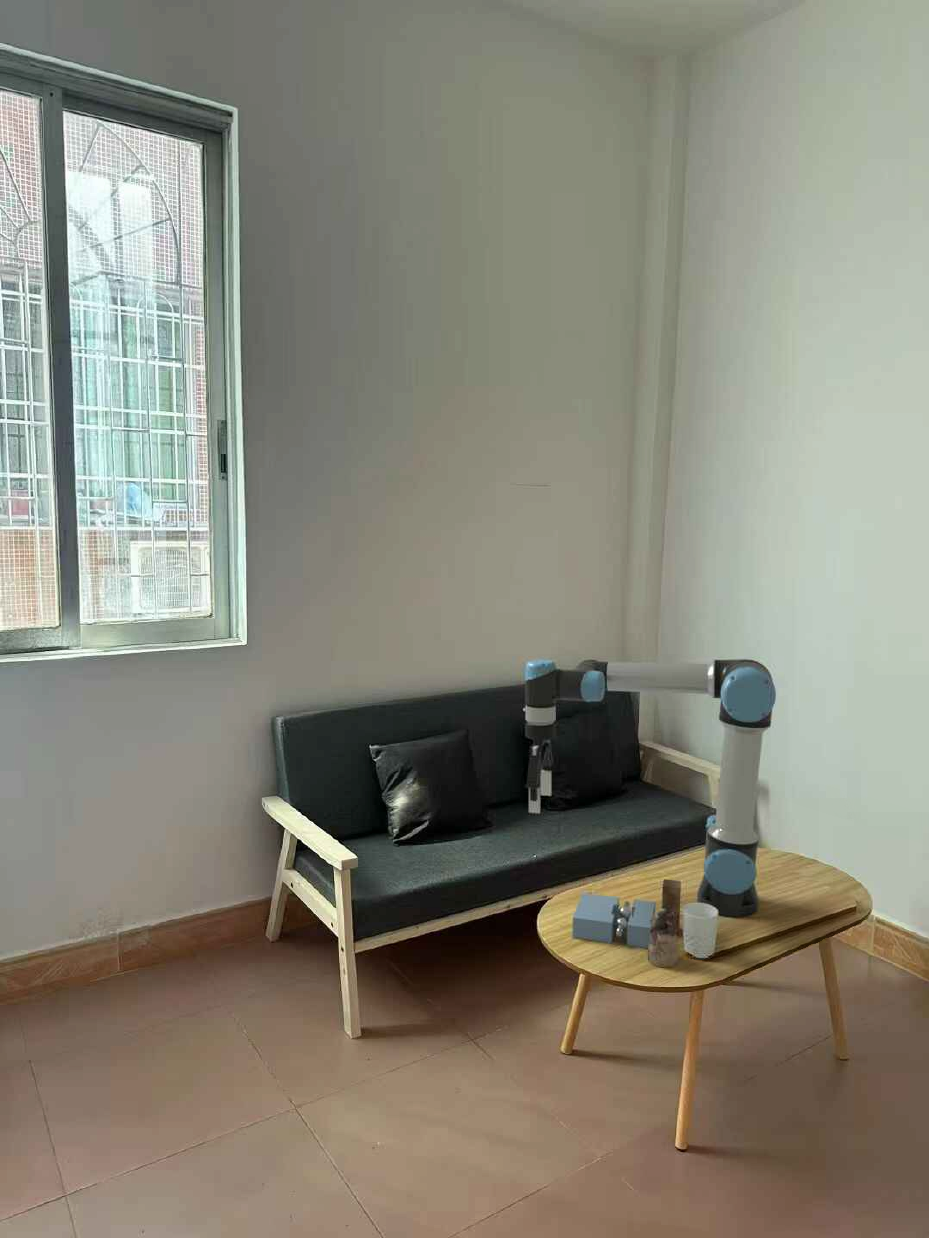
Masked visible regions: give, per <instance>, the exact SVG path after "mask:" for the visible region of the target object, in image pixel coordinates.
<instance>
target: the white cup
mask: <svg viewBox="0 0 929 1238" xmlns="http://www.w3.org/2000/svg"><path fill="white" fill-rule="evenodd" d="M718 918H719V915H718V910H717V909H716V908H715V907H713V906H711V905H709V904H705V903H698V902H690V903H689V902H688V903H686V904H685V905H683V906H682V935H683V936H682V937H683V943H684V944H683V950H684V949H685V950H687V951H688V952H690V953H691V954H692V955H693V956H692V957H693V958H697V959H708V958H709V957H708V956H710V955H712V954H713V953H714V954H715V948H716V941H717V931H718V922H719V921H718V920H719V919H718ZM714 954H713V955H714ZM713 955H712V956H713ZM694 956H695V957H694Z"/></svg>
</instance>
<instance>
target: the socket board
mask: <svg viewBox="0 0 929 1238" xmlns="http://www.w3.org/2000/svg"><path fill="white" fill-rule="evenodd" d="M619 909H620V897H618V896H611V895H603V894H596V893H595V894H594V893H587V892H582V893H581V896H580V899H579V901H578V904H577V907H576V908H575V912H574V914H573V916H572V938H573V939H580V940H587V941H588V940H589V941H592V942H593V941H594V942H600V943H601V942H603V943H609V944H613V943H612V942H613V939H614V936H615V922H616V920H617V919H618V918H620V916H619V913H618V912H619ZM655 913H656V901H652V900H651V901H650V900H642V899H633V902H632V906H631V916H630V917H629V918H628V920H627V922H628V925H627V929H626V930H627V931H626V945H627V946H628V947H629V946H630V947H637V948H645V949H648V947H649V942H650V936H651V934H652V933H651V932H650V928H651V923H650V921H651V920H652V919H653V917H654V914H655Z"/></svg>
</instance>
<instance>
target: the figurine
mask: <svg viewBox="0 0 929 1238" xmlns="http://www.w3.org/2000/svg"><path fill="white" fill-rule="evenodd" d="M675 916H676V913H675V912H672V913H670V914H669V913H668V911H667V910H666V909H664V908H663V909H662V908H661V909H659V910H657V911H655V914H654V917H653V919H652V920H651V921H650V923H651V928H650V932H651V933H652V934H651V936H650V942H649V947H648V948H647V952H646V957H647V961H648V962H647V963H649V964H650V965H651V966H655V967H658V968H672V967H675V966H677V965H678V964H679V961H680V948H679V941H678V938H677V937H678V936H676V930H677V923H676V921H675V920H674V919H673V918H674V917H675ZM669 925H672V927H673V928H672V927H671V926H669Z"/></svg>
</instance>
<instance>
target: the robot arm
mask: <svg viewBox="0 0 929 1238" xmlns="http://www.w3.org/2000/svg"><path fill="white" fill-rule="evenodd" d="M524 676H525V677H524V685H525V687H524V689H525V691H524V692H525V707H523V709H522V710H523V712H525V721H526V722H525V726H524V729H525V734H524V736H525V737H526V738H527V739H530V740H532V743H533V744H531V746H529V758H528V769H527V777H526V778H527V779H526V783H525V784H524V786H525V788H528V813H529V814H530V813H531V814H541V796H548V797H551V796H552V771H555V768H556V767H555V765H554V757H553V752H552V742H551V740H552V739H554V738H555V737H556V722H555V721H556V718H557V716H556V714H557V713H556V712H557V711H556V707H557V706H556V700H558V701H574V702H575V701H576V702H586V703H591V702H602V700H603V699H604V696H605V692H633V693H634V692H636V693H637V692H638V693H639V692H641V693H663V694H664V693H669V694H670V693H671V694H672V693H673V694H694V695H697V694H699V695H701V694H702V695H709V696H710V697H711V698H713V699H720V704H719V714H718V715H719V716H718V721H719V722H720V724H721V725H722V727H724V730H723V731H724V732H723V742H722V751H721V761H720V772H719V782H718V792H717V801H716V812H715V814H712V815H710V816H708V817H707V819H706V825H705V828H706V835H705V836H706V837H705V854H704V862H703V872H704V874H703V877H702V879H701V881H700V884H699V887H698V889H697V892H696V893H697V894H696V901H697V902H696V903H705V904H709V905H711V906H713V907H715V908H716V909H717V910H718V916H724V917H730V918H731V917H732V918H733V917H735V918H737V917H738V918H739V917H747V916H750V915H753V914H756V912H758V911H759V904H760V903H759V902H760V901H759V895H758V892H757V888H756V885H755V880H756V878H757V874H758V872H757V871H758V870H757V867H756V866H757V865H756V864H757V854H758V846H759V835H758V834H757V832H756V829H755V822H754V820H755V819H754V818H755V809H756V801H757V800H756V799H757V790H758V782H759V781H758V780H759V773H760V765H761V764H760V763H761V754H762V752H761V751H762V743H763V735H764V732H766V731H767V730H768V729H769V728H771V725H772V724H771V723H772V717H773V708H774V705H775V704H776V698H777V693H776V692H777V691H776V687H775V684H774V682H773V677H772V675H771V672H770V671H769V669H768V668H767V667H766V666H765V665H763V663H761V662H759V661H756V660H753V659H747V658H743V659H742V658H741V659H713V660H711V661H710V662H709V663H691V662H690V663H687V662H644V661H643V662H633V661H629V662H628V661H599V660H596V659H594V658H587V659H585V660H584V659H583V660H582V661H580V662H579V663H578V664H577V665H576V666H575V668H574V669H560V668H557V666H556V662H555V661H554V660H551V659H544V658H543V659H542V658H541V659H533V660H529V661H527V663H526V665H525V675H524Z"/></svg>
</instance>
